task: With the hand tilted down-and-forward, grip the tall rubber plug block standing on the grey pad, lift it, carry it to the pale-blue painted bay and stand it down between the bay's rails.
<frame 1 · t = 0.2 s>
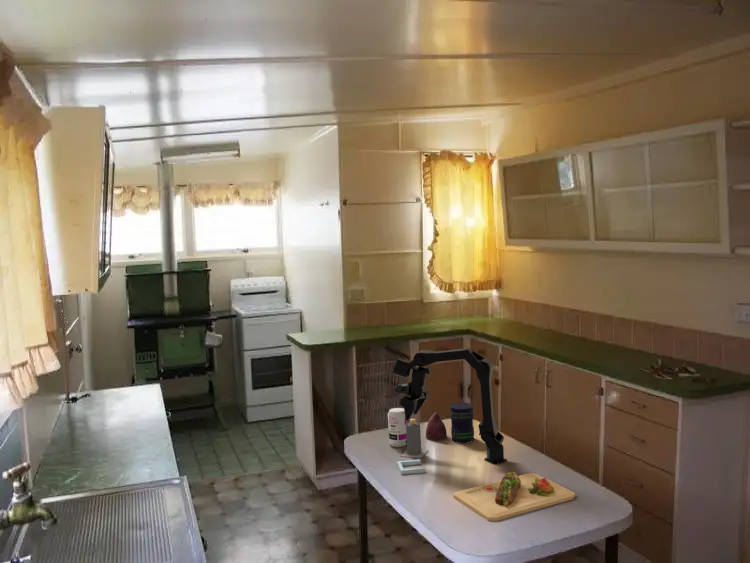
hand: (410, 417, 266), 15 cm above the table, fingers open, 9 cm apart
blue bay: (412, 468, 251), on the table
plug block: (414, 452, 267), resting on grey pad
cutting board: (513, 499, 220), on the table
vegetable: (436, 437, 287), on the table
supplement can: (398, 444, 280), on the table
grey pad: (414, 453, 267), on the table
storage jar: (462, 440, 281), on the table
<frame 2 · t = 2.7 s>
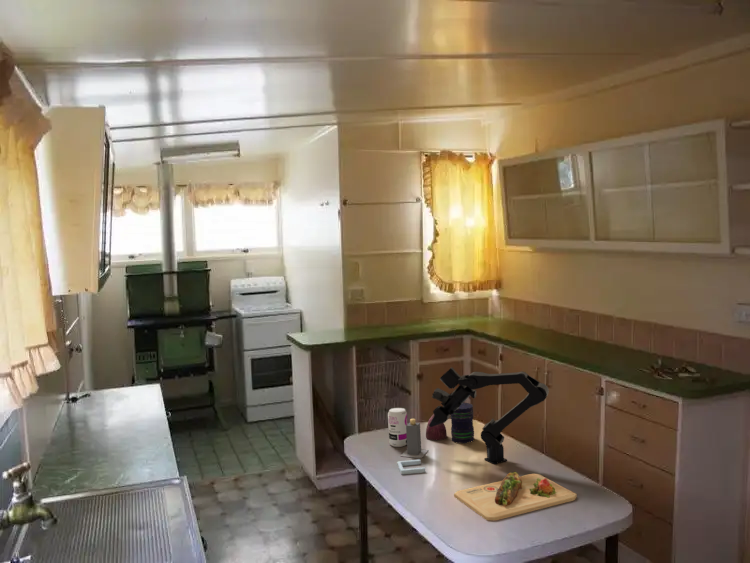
hand: (433, 422, 263), 13 cm above the table, fingers open, 9 cm apart
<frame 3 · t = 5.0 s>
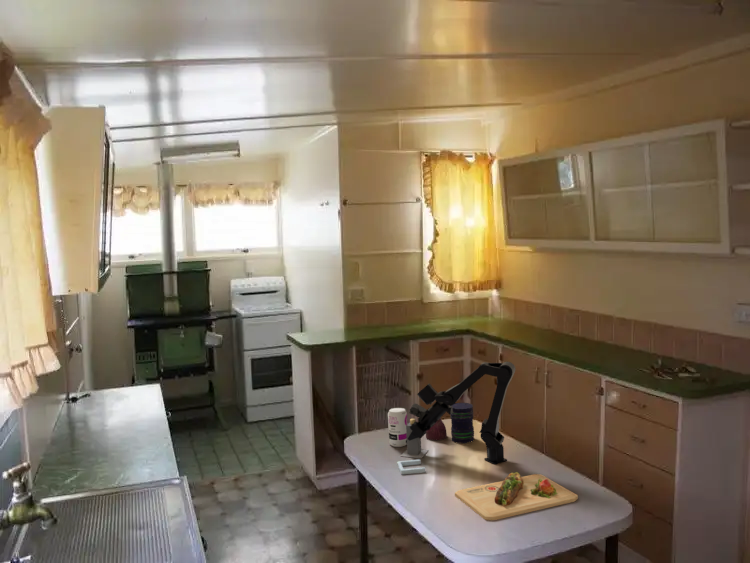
hand: (410, 437, 267), 7 cm above the table, fingers closed on plug block, 4 cm apart
plug block: (414, 452, 267), resting on grey pad, touching gripper
when the fingers open (8 cm above the table, at t = 8.7 s): plug block drops 2 cm, on the table.
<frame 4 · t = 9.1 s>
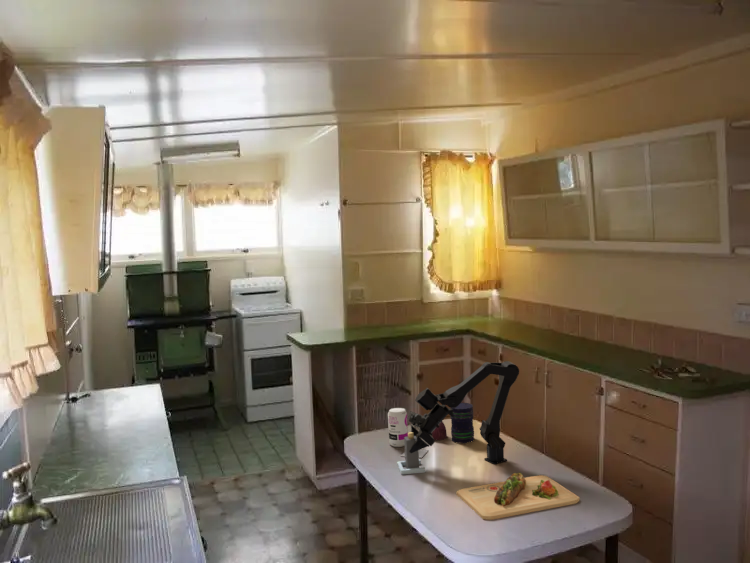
hand: (407, 448, 250), 8 cm above the table, fingers open, 9 cm apart
plug block: (412, 468, 251), on the table
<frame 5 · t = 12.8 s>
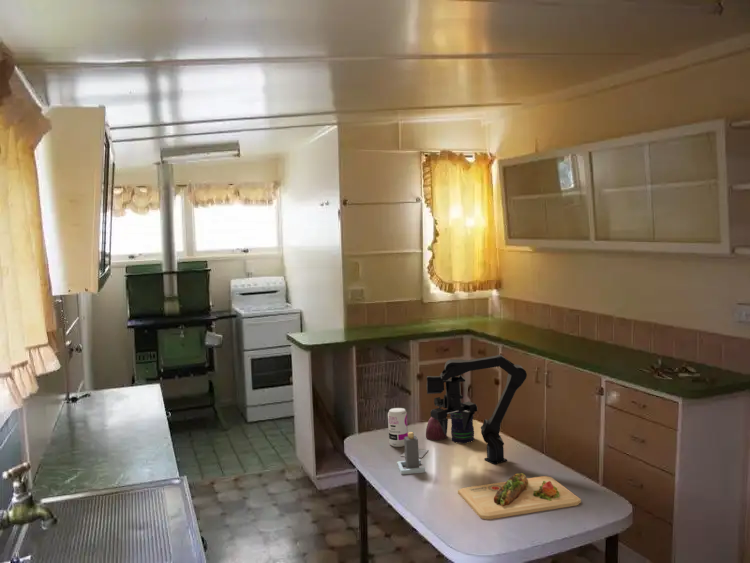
hand: (455, 432, 254), 12 cm above the table, fingers open, 9 cm apart
at the end: plug block 0.0 cm from the blue bay (horizontally); plug block tilted 0°; the gripper is holding nothing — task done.
